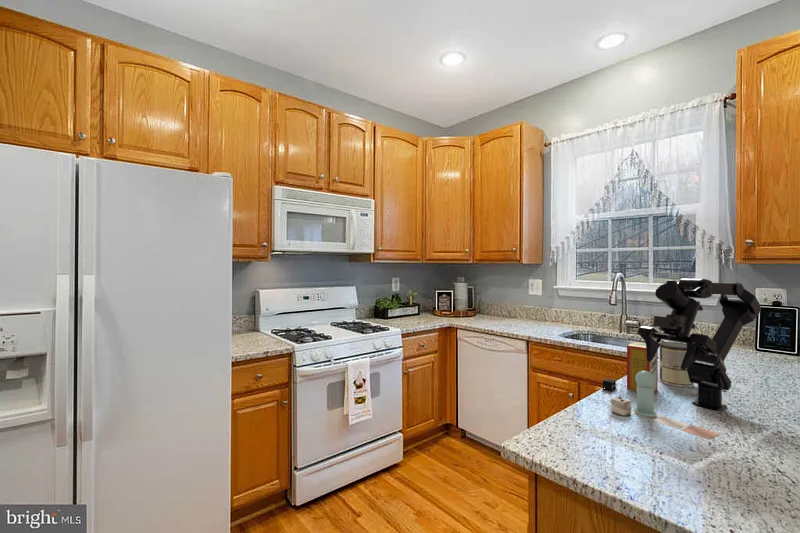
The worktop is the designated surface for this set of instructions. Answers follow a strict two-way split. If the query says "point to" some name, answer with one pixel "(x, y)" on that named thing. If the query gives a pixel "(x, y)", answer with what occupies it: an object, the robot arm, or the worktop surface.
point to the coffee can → (673, 364)
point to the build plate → (609, 384)
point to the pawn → (645, 394)
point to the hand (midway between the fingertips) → (664, 365)
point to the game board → (624, 409)
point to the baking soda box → (640, 364)
